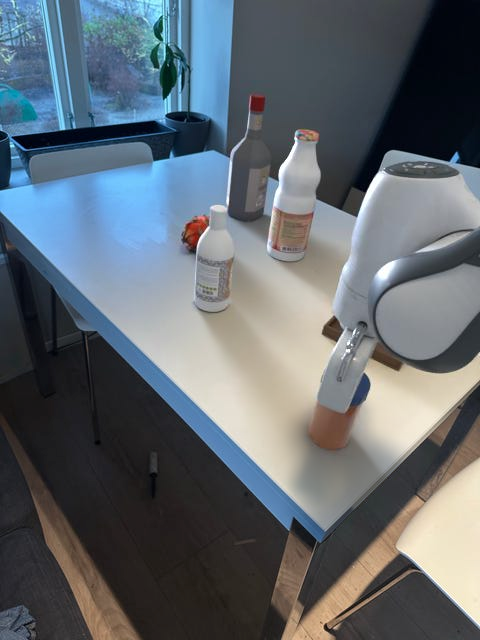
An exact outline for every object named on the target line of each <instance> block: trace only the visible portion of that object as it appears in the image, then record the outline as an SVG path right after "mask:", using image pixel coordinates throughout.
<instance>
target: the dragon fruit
mask: <svg viewBox="0 0 480 640" xmlns="http://www.w3.org/2000/svg"><path fill="white" fill-rule="evenodd" d="M209 224H210V215H206V214H205V213H202V216H198V215H194V216H193V217H192V218H191V219H190V220H189V221H187V222H186V223H185V224H184V226H183V231H182V233H181V235H180V237H181V238H180V241H181V242H182V244H183V245H184V244H187V245H186V246H185V249H186V250H190V251H197V245H198V242H199V239H200V237H201V236H202V234H203V233H204V232H205V231H206V229H207V228H208V227H209Z"/></svg>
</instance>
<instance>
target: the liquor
mask: <svg viewBox="0 0 480 640" xmlns="http://www.w3.org/2000/svg"><path fill="white" fill-rule="evenodd" d="M265 104H266V95H263V94H256V93H252V94H250V95H249V103H248V117H247V118H248V119H247V127H246V132H245V135H244V136H243V137H244V138H242V139H241V140H240V141H239V142H238V143H237V144H236V145H235V146H234V147H233V148H232V150H231V152H230V157H229V168H228V179H227V189H226V191H227V192H226V200H225V201H226V202H225V207H226V208H227V214H228V216H229V217H231V218H234V219H237V220H239V221H243V222H254V221H256V220H257V219H258V218H261V217H262V216H263V214H264V212H265V205H266V198H267V191H268V184H269V178H270V172H271V171H270V170H271V163H272V154H271V151H270V150H269V149H268V147H267V146H266V144H265V143H264V140H263V139H262V125H263V116H264V111H265Z"/></svg>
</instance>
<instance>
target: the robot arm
mask: <svg viewBox="0 0 480 640" xmlns="http://www.w3.org/2000/svg"><path fill="white" fill-rule="evenodd" d="M331 305H332V306H331V309H332V312H333V313H332V314H333V316H334V315H335V316H336V318H337V319H338V320H339V322H340V325H341V327H342V328H343V329H344V331H343V333H342V335H341V337H340V339H339V340H338V342H337V341H336V343H335V346H334V347H333V349H332V351H331V354H330V356H329V357H328V360H327V364H326V366H325V369H324V371H325V372H324V371H323V373H324V375H323V374H322V375H323V378H322V377H321V378H322V381H321V380H320V381H321V382H320V384H319V387H318V391H317V394H316V400H317V401H318V403H319V404H321V405H323V406H325V407H327V408H329V409H331V410H334V411H336V412H339V413H345V412H346V411H347V410H348V408H349V406H350V403H351V401H352V399H353V397H354V394H355V392H356V390H357V388H358V385H359V383H360V381H361V379H362V376H363V374H364V373H366V369H367V367H368V365H369V363H370V360H371V359H372V358H371V356H372V354H373V351H374V349H375V347H376V344H377V342H379V343H380V344H381V345H382V346H383V347H384V348H385V350H386V351H388V352H389V353H390V354H391V355H392V356H393V357H395V358H396V359H398V360H399V361H401V362H403V364H405V365H407V366H409V367H411V368H413V369H416V370H419V371H422V372H426V373H430V374H449V373H454V372H457V371H459V370H461V369H463V368H465V367H467V366H468V365H469V364H470V363H472V361H473V360H474V359H475V358H476V357H477V356H478V355H479V354H480V200H479V199H478V197H476V196H475V194H474V193H473V192H472V191H471V190H470V188H469V186H468V184H467V182H466V180H465V178H464V176H463V174H462V173H461V171H459V170H458V169H457V168H455V167H453V166H450V165H448V164H445V163H441V162H436V161H427V160H426V161H425V160H417V161H414V160H413V161H410V160H408V161H401V162H398V163H394V164H391V165H388V166H386V167H383V168H382V169H381V170H379V171H377V173H376V174H375V175H374V176H373V179H372V181H371V182H370V184H369V186H368V188H367V190H366V192H365V196H364V197H363V200H362V202H361V206H360V208H359V211H358V214H357V217H356V220H355V223H354V227H353V230H352V234H351V238H350V255H349V257H348V258H347V260H346V262H345V264H344V265H343V267H342V269H341V273H340V276H339V281H338V284H337V287H336V291H335V294H334V297H333V302H332V304H331Z"/></svg>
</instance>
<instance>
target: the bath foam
mask: <svg viewBox="0 0 480 640" xmlns="http://www.w3.org/2000/svg"><path fill="white" fill-rule="evenodd" d="M209 209H210V210H209V217H210V224H209V227H208V228H207V229H206V231H205V232H204V233H203V234H202V236H201V237H200V239H199V242H198V245H197V249H196V253H195V254H196V255H195V258H196V259H195V274H194V275H195V277H194V278H195V279H194V293H193V295H194V296H193V300H194V304H195V306H196V307H197V308H198V309H200V310H202V311H205V312H210V313H217V312H221V311H224V310H226V309H227V308H228V306H229V305H230V298H231V288H232V280H233V270H234V261H235V244H234V240H233V238H232V236H231V234H230V232H229V230H228V229H227V216H228V215H227V214H228V212H227V208H226V205H223V204H222V205H221V204H214V205H212V206H210V208H209Z"/></svg>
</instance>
